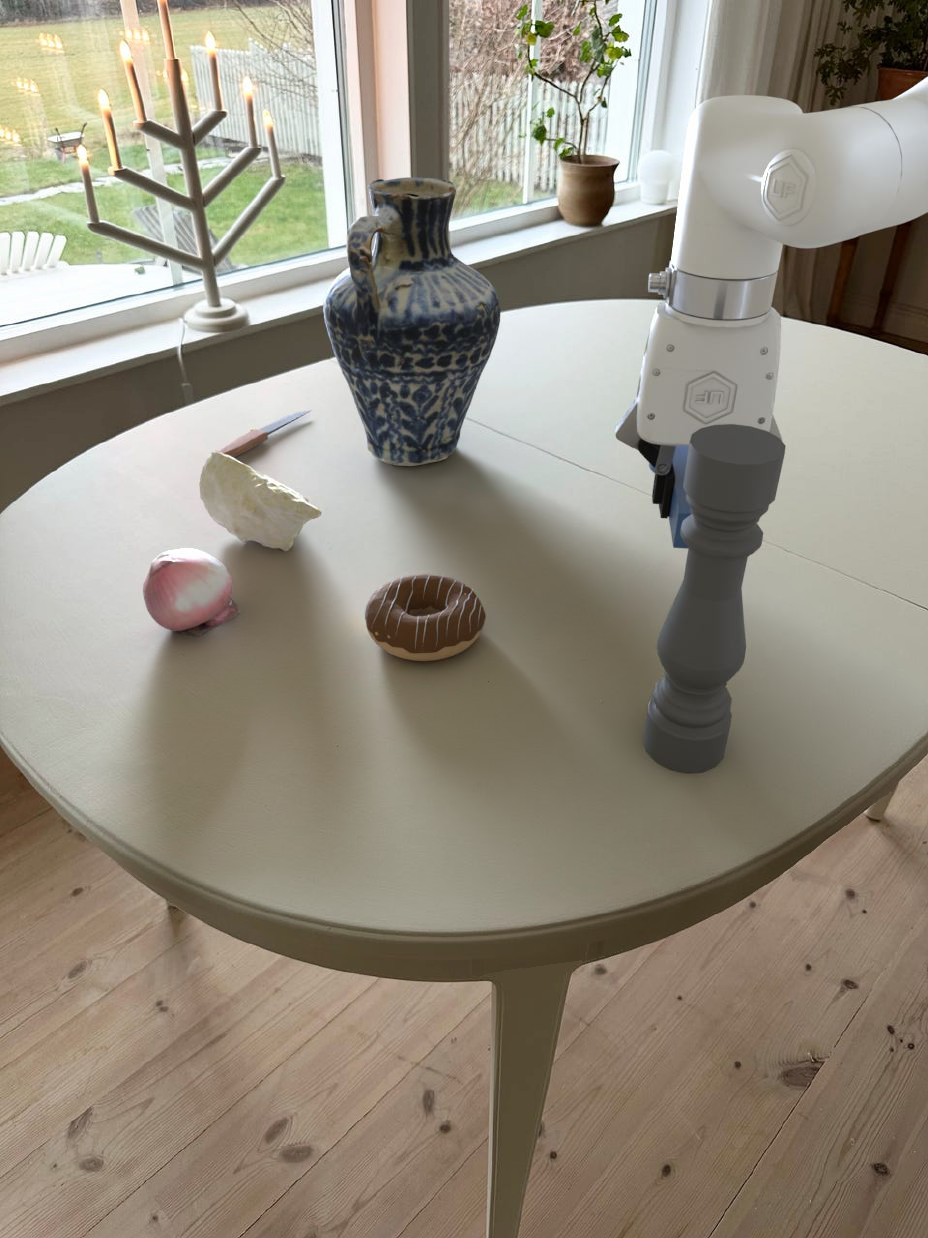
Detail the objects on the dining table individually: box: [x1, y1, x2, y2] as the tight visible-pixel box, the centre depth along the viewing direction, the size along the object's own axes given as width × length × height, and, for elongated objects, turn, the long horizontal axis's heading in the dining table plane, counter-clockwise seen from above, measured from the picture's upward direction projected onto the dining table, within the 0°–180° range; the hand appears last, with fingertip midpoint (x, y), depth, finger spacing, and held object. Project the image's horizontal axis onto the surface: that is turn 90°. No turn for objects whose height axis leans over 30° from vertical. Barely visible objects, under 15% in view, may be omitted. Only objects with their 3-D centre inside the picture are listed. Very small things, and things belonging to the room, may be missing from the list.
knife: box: [210, 410, 313, 458], centre depth 115 cm, size 17×1×3 cm
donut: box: [364, 573, 487, 662], centre depth 81 cm, size 11×11×4 cm
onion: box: [142, 547, 241, 637], centre depth 82 cm, size 8×8×7 cm
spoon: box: [648, 446, 692, 550], centre depth 79 cm, size 17×5×3 cm, turn 174°
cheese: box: [198, 450, 322, 552], centre depth 94 cm, size 15×7×15 cm
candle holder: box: [642, 424, 787, 774], centre depth 63 cm, size 6×6×25 cm
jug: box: [322, 176, 501, 467], centre depth 103 cm, size 21×19×30 cm
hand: (685, 509), depth 78 cm, fingers closed on spoon, 3 cm apart
